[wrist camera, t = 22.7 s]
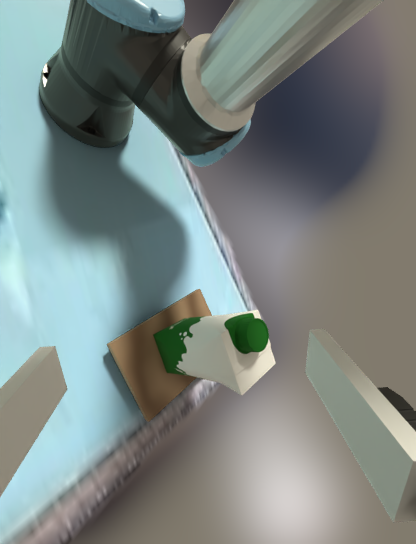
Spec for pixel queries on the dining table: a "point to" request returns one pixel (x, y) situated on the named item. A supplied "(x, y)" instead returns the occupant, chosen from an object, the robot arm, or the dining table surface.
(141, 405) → the stand
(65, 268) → the dining table surface
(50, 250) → the dining table surface
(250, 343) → the soya milk
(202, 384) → the dining table surface
